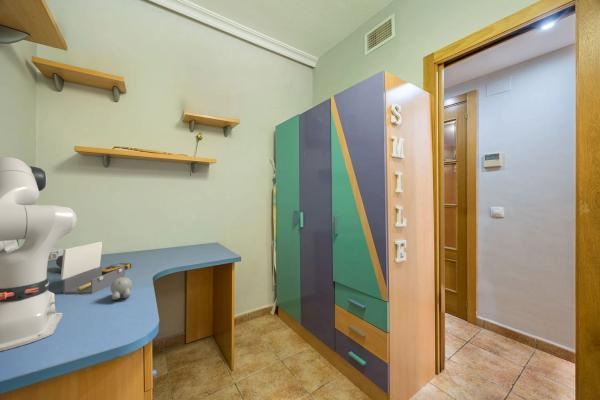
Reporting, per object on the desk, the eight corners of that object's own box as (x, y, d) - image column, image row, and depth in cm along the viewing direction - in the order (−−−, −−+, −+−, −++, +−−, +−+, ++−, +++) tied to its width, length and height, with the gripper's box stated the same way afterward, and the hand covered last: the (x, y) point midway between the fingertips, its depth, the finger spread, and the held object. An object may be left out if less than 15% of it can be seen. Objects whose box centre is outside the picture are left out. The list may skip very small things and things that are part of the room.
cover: (65, 249, 101) (63, 249, 101) (62, 279, 101) (60, 279, 101) (102, 241, 121) (100, 241, 121) (99, 266, 121) (98, 266, 121)
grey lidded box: (94, 293, 101) (94, 279, 101) (63, 294, 101) (63, 280, 101) (126, 278, 121) (126, 267, 121) (100, 278, 121) (100, 267, 121)
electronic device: (93, 276, 126) (93, 270, 126) (119, 268, 142) (119, 262, 142) (107, 277, 125) (107, 270, 125) (131, 268, 140) (131, 262, 140)
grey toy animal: (131, 298, 104) (132, 278, 106) (132, 296, 95) (132, 274, 97) (110, 301, 99) (111, 281, 102) (109, 300, 90) (110, 277, 93)
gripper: (-5, 254, 99) (30, 254, 100) (46, 245, 119) (74, 245, 120) (-5, 269, 99) (29, 269, 100) (45, 258, 119) (74, 257, 120)
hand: (54, 256), depth 110 cm, fingers closed
